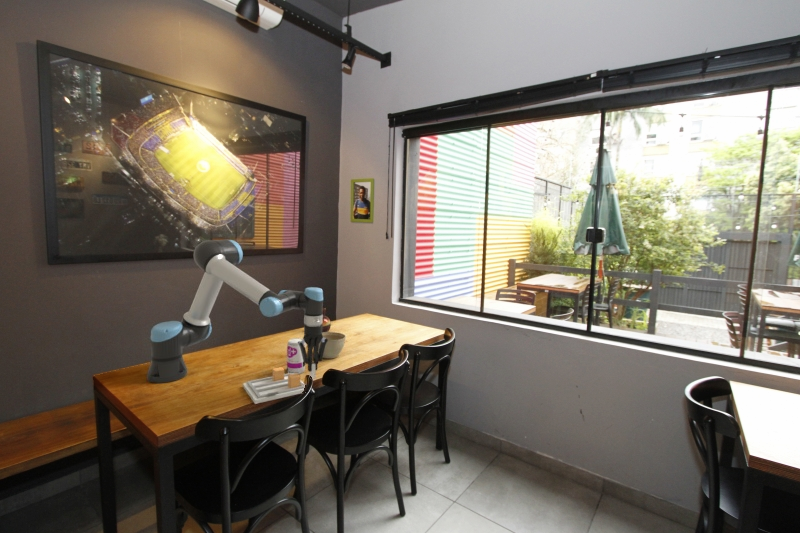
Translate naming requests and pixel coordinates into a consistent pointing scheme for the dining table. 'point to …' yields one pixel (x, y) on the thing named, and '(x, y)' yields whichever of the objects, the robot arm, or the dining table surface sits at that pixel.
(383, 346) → the dining table surface
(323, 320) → the vase
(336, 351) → the planter bowl
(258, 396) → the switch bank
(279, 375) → the orange block
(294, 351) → the supplement can
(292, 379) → the tab
